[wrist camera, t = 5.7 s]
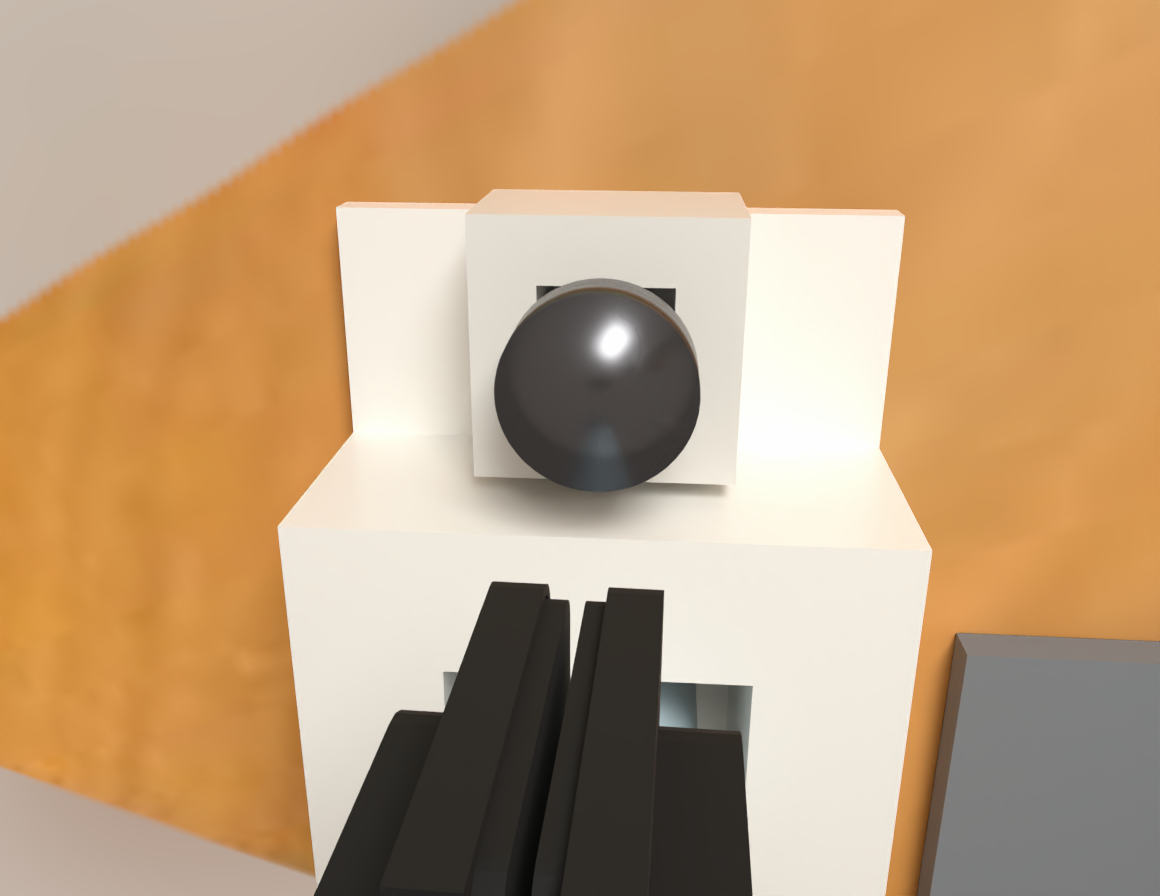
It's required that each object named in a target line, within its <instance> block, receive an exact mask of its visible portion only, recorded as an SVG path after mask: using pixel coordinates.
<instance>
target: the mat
mask: <svg viewBox="0 0 1160 896" xmlns="http://www.w3.org/2000/svg"><path fill="white" fill-rule="evenodd" d="M917 896H1160V642H1158V641H1135V640H1111V639H1088V638H1064V637H1040V636H1017V635H993V634H970V633H956V640H955V646H954V653H953V659H952V666H951V673H950V679H949V686H948V693H947V699H946V706H945V713H944V719H943V726H942V732H941V739H940V746H939V752H938V759H937V766H936V772H935V779H934V786H933V792H932V799H931V805H930V812H929V819H928V825H927V832H926V839H925V845H924V852H923V859H922V865H921V872H920V878H919V885H918V892H917Z"/></svg>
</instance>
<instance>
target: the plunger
mask: <svg viewBox="0 0 1160 896" xmlns="http://www.w3.org/2000/svg"><path fill="white" fill-rule="evenodd" d="M494 400H495V408H496V413H497V417H498V420H499V423H500V426H501V428H502V431H503V433H504V435H505V437H506V439H507V440H508V442H509V444H510V445H511V447H512V448H513V449H514V451H515V452H516V453H517V455H518V456H519V457H520V458H521V459H522V460H523V461H524V462H525V463H526V464H527V465H528V466H530V467H531V468H532V469H533V470H534V471H536V472H537V473H539V474H540V475H542V476H544V477H545V478H547V479H549V480H551V481H553V482H555V483H557V484H560V485H563V486H566V487H568V488H572V489H577V490H581V491H590V492H610V491H616V490H622V489H626V488H630V487H633V486H636V485H638V484H641V483H643V482H646V481H647V480H649V479H651V478H653V477H654V476H656V475H658V474H659V473H660V472H662V471H663V470H664V469H666V468H667V467H668V466H669V465H670V464H671V463H672V462H673V461H674V460H675V459H676V458H677V457H678V456H679V454H680V453H681V452H682V451H683V449H684V448H685V446H686V445H687V443H688V441H689V439H690V438H691V436H692V433H693V431H694V428H695V426H696V423H697V419H698V415H699V409H700V400H701V397H700V379H699V368H698V360H697V354H696V350H695V347H694V343H693V340H692V338H691V336H690V334H689V332H688V329H687V328H686V326H685V325H684V323H683V321H682V320H681V318H680V317H679V316H678V315H677V314H676V312H675V311H674V310H673V309H672V308H671V307H670V306H669V305H668V304H667V303H666V302H665V301H663V300H662V299H661V298H659V297H658V296H656V295H655V294H654V293H652V292H650V291H648V290H646V289H644V288H642V287H640V286H638V285H635V284H632V283H629V282H625V281H621V280H616V279H606V278H595V279H585V280H579V281H575V282H572V283H568V284H565V285H563V286H561V287H559V288H556V289H554V290H552V291H551V292H549V293H548V294H546V295H544V296H543V297H541V298H540V299H539V300H538V301H537V302H536V303H534V304H533V305H532V306H531V307H530V308H529V309H528V311H527V312H526V313H525V314H524V315H523V317H522V318H521V320H520V321H519V323H518V324H517V326H516V328H515V330H514V331H513V333H512V335H511V337H510V339H509V341H508V343H507V345H506V347H505V349H504V351H503V353H502V355H501V357H500V360H499V363H498V366H497V370H496V376H495V381H494Z"/></svg>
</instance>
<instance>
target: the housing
mask: <svg viewBox="0 0 1160 896" xmlns="http://www.w3.org/2000/svg"><path fill="white" fill-rule="evenodd" d="M336 214H337V227H338V240H339V253H340V266H341V279H342V291H343V304H344V317H345V330H346V343H347V356H348V368H349V381H350V394H351V407H352V420H353V433H352V435H351V436H350V437H349V438H348V440H347V441H346V442H345V443H344V445H343V446H342V447H341V448H340V450H339V451H338V452H337V453H336V454H335V456H334V457H333V458H332V459H331V461H330V462H329V463H328V464H327V466H326V467H325V468H324V469H323V471H322V472H321V473H320V474H319V476H318V477H317V478H316V479H315V481H314V482H313V483H312V484H311V486H310V487H309V488H308V489H307V491H306V492H305V493H304V494H303V496H302V497H301V498H300V499H299V501H298V502H297V503H296V504H295V506H294V507H293V508H292V509H291V511H290V512H289V513H288V514H287V516H286V517H285V518H284V519H283V521H282V522H281V523H280V524H279V526H278V535H279V544H280V553H281V562H282V571H283V580H284V590H285V599H286V608H287V617H288V626H289V636H290V645H291V654H292V663H293V672H294V681H295V691H296V700H297V709H298V718H299V727H300V737H301V746H302V755H303V764H304V773H305V782H306V792H307V801H308V810H309V819H310V828H311V838H312V847H313V856H314V865H315V874H316V883H317V887H318V885H319V883H320V880H321V878H322V876H323V873H324V871H325V869H326V867H327V864H328V862H329V860H330V857H331V855H332V853H333V851H334V848H335V846H336V844H337V842H338V839H339V837H340V835H341V832H342V830H343V828H344V826H345V823H346V821H347V819H348V816H349V814H350V812H351V810H352V807H353V805H354V803H355V800H356V798H357V796H358V794H359V791H360V789H361V787H362V785H363V782H364V780H365V778H366V775H367V773H368V771H369V769H370V766H371V764H372V762H373V759H374V757H375V755H376V753H377V750H378V748H379V746H380V743H381V741H382V739H383V737H384V734H385V732H386V730H387V728H388V725H389V723H390V721H391V720H392V718H393V716H394V714H395V713H396V712H398V711H399V710H415V711H430V712H444V709H445V706H446V704H447V701H448V698H449V695H450V693H451V690H452V687H453V685H454V682H455V679H456V676H457V674H458V671H459V668H460V665H461V663H462V660H463V657H464V655H465V652H466V649H467V646H468V644H469V641H470V638H471V635H472V633H473V630H474V627H475V625H476V622H477V619H478V616H479V614H480V611H481V608H482V606H483V603H484V600H485V597H486V595H487V592H488V589H489V586H490V585H491V583H492V582H493V581H499V582H518V583H537V584H548V585H549V589H550V599H562V600H569V602H570V677H571V675H572V669H573V664H574V659H575V654H576V648H577V643H578V638H579V633H580V628H581V622H582V617H583V612H584V607H585V602H586V601H599V602H606V599H607V592H608V588H609V587H615V588H634V589H653V590H664V614H663V641H662V668H661V682H679V683H696V705H697V728H698V729H713V730H729V731H740V732H741V735H742V743H743V757H744V772H745V787H746V802H747V817H748V833H749V848H750V863H751V878H752V893H753V896H885V893H886V886H887V878H888V871H889V864H890V856H891V849H892V842H893V835H894V827H895V820H896V813H897V805H898V798H899V791H900V783H901V776H902V769H903V762H904V754H905V747H906V740H907V732H908V725H909V718H910V710H911V703H912V696H913V688H914V681H915V674H916V667H917V659H918V652H919V645H920V637H921V630H922V623H923V615H924V608H925V601H926V593H927V586H928V579H929V572H930V564H931V557H932V549H931V547H930V546H929V544H928V542H927V540H926V538H925V536H924V534H923V532H922V530H921V528H920V526H919V524H918V522H917V520H916V518H915V517H914V515H913V513H912V511H911V509H910V507H909V505H908V503H907V501H906V499H905V497H904V495H903V493H902V491H901V490H900V488H899V486H898V484H897V482H896V480H895V478H894V476H893V474H892V472H891V470H890V468H889V466H888V464H887V463H886V461H885V459H884V457H883V455H882V453H881V451H880V449H879V444H880V435H881V426H882V417H883V409H884V400H885V391H886V382H887V373H888V364H889V355H890V346H891V337H892V328H893V320H894V311H895V302H896V293H897V284H898V275H899V266H900V257H901V248H902V240H903V231H904V222H905V216H904V215H903V214H902V213H900V212H899V211H898V210H872V209H805V208H746V206H745V204H744V202H743V199H742V197H741V195H740V193H734V192H662V191H590V190H519V189H493V190H492V191H491V192H490V193H489V194H487V195H486V196H485V197H484V198H483V199H482V200H480V201H479V202H478V203H477V204H470V203H403V202H346V203H344V204H342V205H340V206H338V207H336ZM595 278H606V279H616V280H621V281H625V282H629V283H632V284H635V285H638V286H640V287H642V288H644V289H646V290H648V291H650V292H652V293H654V294H655V295H656V296H658V297H659V298H661V299H662V300H663V301H665V302H666V303H667V304H668V305H669V306H670V307H671V308H672V309H673V310H674V311H675V312H676V314H677V315H678V316H679V317H680V318H681V320H682V321H683V323H684V325H685V326H686V328H687V329H688V332H689V334H690V336H691V338H692V340H693V343H694V347H695V350H696V354H697V360H698V368H699V379H700V397H701V400H700V409H699V415H698V419H697V423H696V426H695V428H694V431H693V433H692V436H691V438H690V439H689V441H688V443H687V445H686V446H685V448H684V449H683V451H682V452H681V453H680V454H679V456H678V457H677V458H676V459H675V460H674V461H673V462H672V463H671V464H670V465H669V466H668V467H667V468H666V469H664V470H663V471H662V472H660V473H659V474H658V475H656V476H654V477H653V478H651V479H649V480H647V481H646V482H643V483H641V484H638V485H636V486H633V487H630V488H626V489H622V490H616V491H610V492H590V491H581V490H577V489H572V488H568V487H566V486H563V485H560V484H557V483H555V482H553V481H551V480H549V479H547V478H545V477H544V476H542V475H540V474H539V473H537V472H536V471H534V470H533V469H532V468H531V467H530V466H528V465H527V464H526V463H525V462H524V461H523V460H522V459H521V458H520V457H519V456H518V455H517V453H516V452H515V451H514V449H513V448H512V447H511V445H510V444H509V442H508V440H507V439H506V437H505V435H504V433H503V431H502V428H501V426H500V423H499V420H498V417H497V413H496V408H495V400H494V381H495V376H496V370H497V366H498V363H499V360H500V357H501V355H502V353H503V351H504V349H505V347H506V345H507V343H508V341H509V339H510V337H511V335H512V333H513V331H514V330H515V328H516V326H517V324H518V323H519V321H520V320H521V318H522V317H523V315H524V314H525V313H526V312H527V311H528V309H529V308H530V307H531V306H532V305H533V304H534V303H536V302H537V301H538V300H539V299H540V298H541V297H543V296H544V295H546V294H548V293H549V292H551V291H552V290H554V289H556V288H559V287H561V286H563V285H565V284H568V283H572V282H575V281H579V280H585V279H595Z"/></svg>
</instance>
